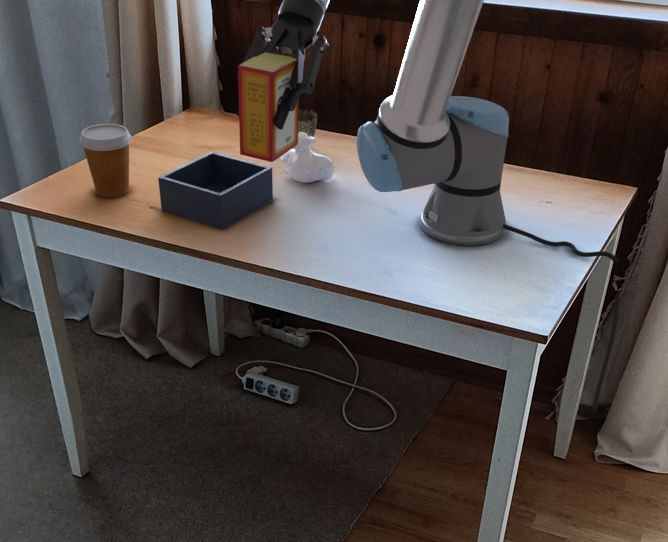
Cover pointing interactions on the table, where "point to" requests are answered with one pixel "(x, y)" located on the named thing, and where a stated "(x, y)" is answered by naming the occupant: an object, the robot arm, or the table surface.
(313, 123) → the cup
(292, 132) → the baking soda box
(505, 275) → the table surface
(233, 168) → the bin
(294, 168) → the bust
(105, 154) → the disposable coffee cup
